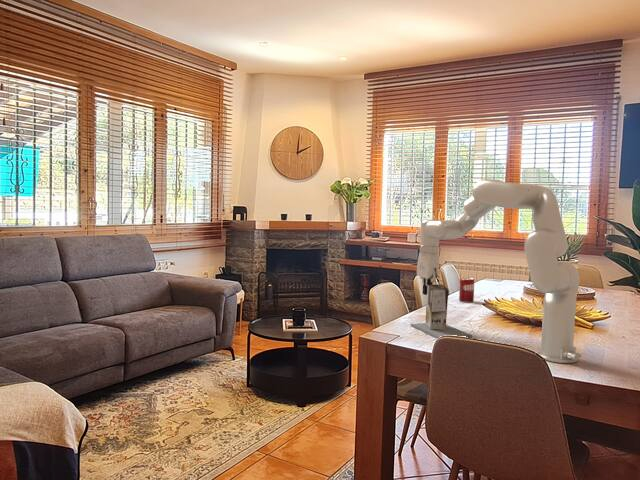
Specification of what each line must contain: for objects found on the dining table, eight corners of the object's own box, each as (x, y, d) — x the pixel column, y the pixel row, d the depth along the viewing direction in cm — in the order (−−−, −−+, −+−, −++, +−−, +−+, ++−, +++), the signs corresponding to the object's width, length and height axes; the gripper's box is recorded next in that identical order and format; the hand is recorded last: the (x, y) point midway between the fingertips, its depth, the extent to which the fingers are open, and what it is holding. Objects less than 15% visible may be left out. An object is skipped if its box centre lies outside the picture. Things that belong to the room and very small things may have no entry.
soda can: (456, 300, 261) (457, 277, 260) (468, 300, 263) (469, 277, 262) (464, 303, 254) (465, 279, 253) (476, 302, 256) (477, 279, 256)
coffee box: (446, 330, 195) (449, 289, 192) (429, 329, 195) (432, 289, 192) (440, 322, 204) (443, 284, 201) (424, 322, 204) (427, 283, 201)
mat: (472, 337, 188) (472, 335, 187) (439, 339, 183) (439, 337, 183) (440, 323, 208) (440, 321, 208) (410, 325, 204) (410, 323, 204)
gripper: (412, 248, 209) (409, 291, 211) (430, 252, 195) (428, 298, 196) (427, 248, 211) (425, 290, 213) (447, 252, 197) (444, 297, 199)
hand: (426, 294), depth 205 cm, fingers closed
